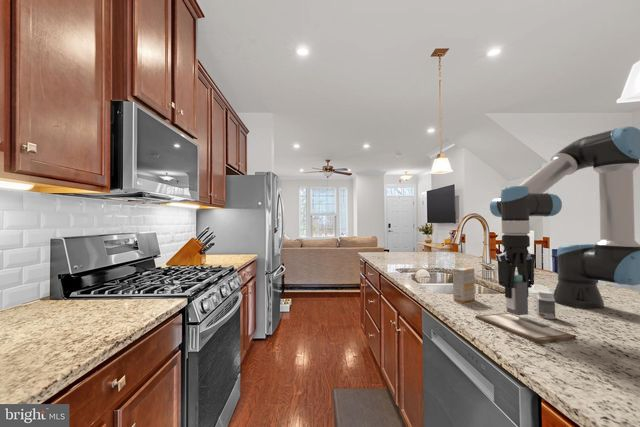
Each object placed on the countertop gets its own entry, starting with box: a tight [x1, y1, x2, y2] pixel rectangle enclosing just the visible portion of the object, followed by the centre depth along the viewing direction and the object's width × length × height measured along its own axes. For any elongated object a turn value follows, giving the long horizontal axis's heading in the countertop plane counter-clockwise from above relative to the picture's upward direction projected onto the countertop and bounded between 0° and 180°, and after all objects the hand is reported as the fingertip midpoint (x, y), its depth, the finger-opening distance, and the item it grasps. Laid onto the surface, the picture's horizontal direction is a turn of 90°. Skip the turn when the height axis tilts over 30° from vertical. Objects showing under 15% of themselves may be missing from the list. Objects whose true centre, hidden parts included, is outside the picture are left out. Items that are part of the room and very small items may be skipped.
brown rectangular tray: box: [475, 312, 577, 344], centre depth 91 cm, size 13×22×1 cm, turn 14°
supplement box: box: [452, 266, 476, 303], centre depth 124 cm, size 8×5×13 cm, turn 122°
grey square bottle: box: [506, 273, 529, 316], centre depth 96 cm, size 4×4×12 cm
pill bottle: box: [536, 290, 556, 320], centre depth 101 cm, size 5×5×8 cm
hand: (517, 307), depth 96 cm, fingers closed on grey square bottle, 4 cm apart
